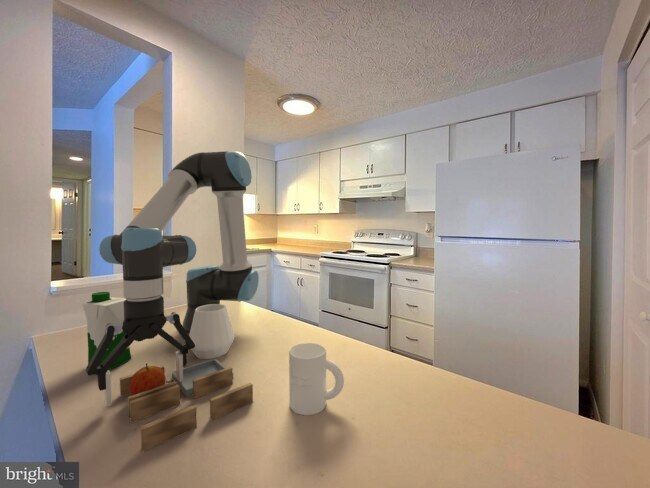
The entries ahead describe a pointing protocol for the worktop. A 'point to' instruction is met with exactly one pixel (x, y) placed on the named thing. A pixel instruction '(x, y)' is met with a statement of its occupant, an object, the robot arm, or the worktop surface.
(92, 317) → the milk carton
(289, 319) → the worktop surface
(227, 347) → the cup
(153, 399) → the stall
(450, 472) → the worktop surface
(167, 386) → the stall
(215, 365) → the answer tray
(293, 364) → the mug
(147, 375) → the fruit
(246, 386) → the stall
